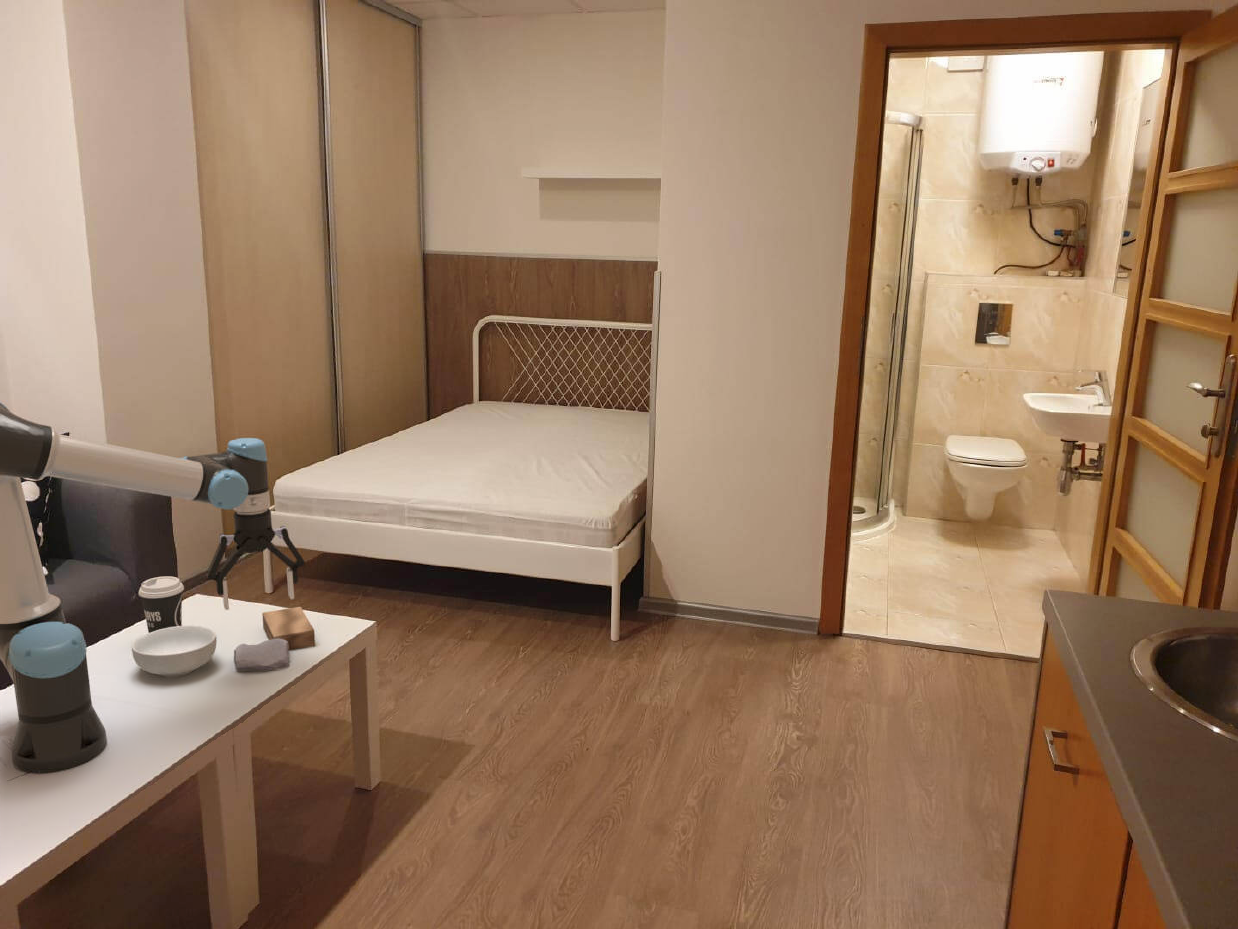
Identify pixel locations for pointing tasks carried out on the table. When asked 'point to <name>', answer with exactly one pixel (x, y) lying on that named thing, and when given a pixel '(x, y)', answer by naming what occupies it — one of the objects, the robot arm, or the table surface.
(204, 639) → the cereal bowl
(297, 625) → the walnut plinth
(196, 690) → the table surface
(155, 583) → the coffee cup
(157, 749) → the table surface
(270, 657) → the stone block
